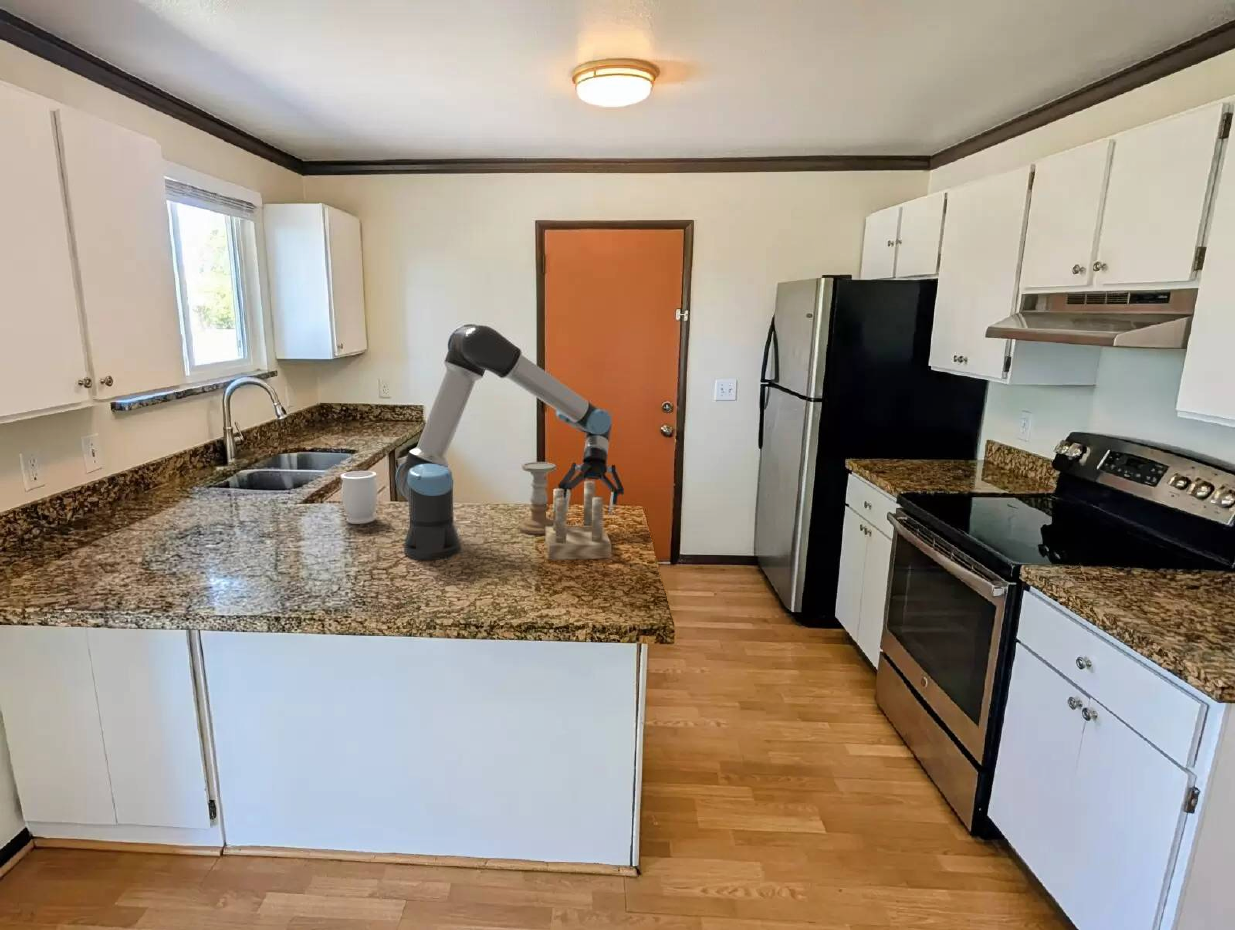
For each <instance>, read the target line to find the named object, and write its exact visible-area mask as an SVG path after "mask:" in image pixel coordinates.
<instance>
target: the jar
mask: <svg viewBox="0 0 1235 930" xmlns="http://www.w3.org/2000/svg"><path fill="white" fill-rule="evenodd" d="M376 478H377V473H376V472H375V471H369V470H353V471H348V472H344V473H342V474H340V479H341V480H342V482H341V491H340V492H341V499H342V504H343V508H344V512H345V514H346V515H347V518H346V522H347V523H349V524H352V525H353V524H354V525H362V524H363V525H364V524H368V523H369V524H370V523H372V522H373V521H375V520H376V517H375V515H374V513H375V512H376V509H377V503H378V502H377V501H378V485H377V482H376Z"/></svg>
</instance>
